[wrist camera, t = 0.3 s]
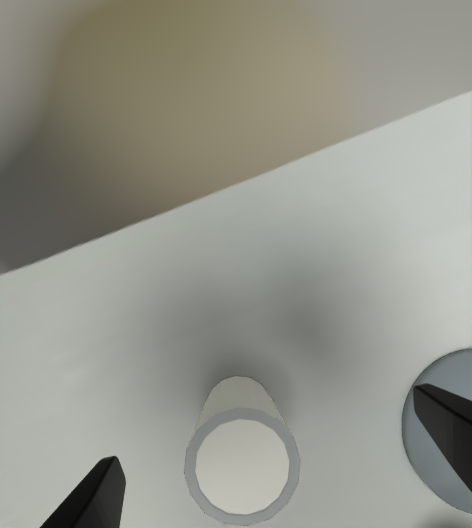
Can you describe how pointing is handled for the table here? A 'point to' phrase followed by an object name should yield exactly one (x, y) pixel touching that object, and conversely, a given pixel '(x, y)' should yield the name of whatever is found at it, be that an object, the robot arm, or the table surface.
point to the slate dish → (420, 442)
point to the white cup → (241, 455)
